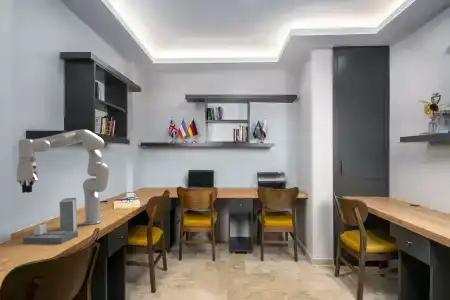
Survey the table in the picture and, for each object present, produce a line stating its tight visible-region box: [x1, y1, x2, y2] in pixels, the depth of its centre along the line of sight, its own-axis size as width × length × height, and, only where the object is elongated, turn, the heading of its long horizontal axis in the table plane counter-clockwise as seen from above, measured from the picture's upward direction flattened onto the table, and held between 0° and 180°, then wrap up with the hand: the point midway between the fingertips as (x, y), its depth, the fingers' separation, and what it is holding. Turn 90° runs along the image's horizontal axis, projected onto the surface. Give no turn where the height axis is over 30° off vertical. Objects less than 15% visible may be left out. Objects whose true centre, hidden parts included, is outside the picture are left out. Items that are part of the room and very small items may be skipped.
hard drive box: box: [59, 197, 78, 231], centre depth 183 cm, size 16×8×20 cm, turn 21°
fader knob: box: [33, 222, 48, 235], centre depth 164 cm, size 5×4×5 cm
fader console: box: [22, 230, 79, 244], centre depth 163 cm, size 14×23×3 cm, turn 83°
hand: (27, 192), depth 166 cm, fingers closed
